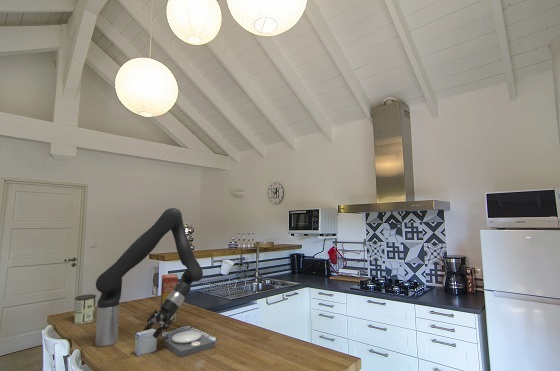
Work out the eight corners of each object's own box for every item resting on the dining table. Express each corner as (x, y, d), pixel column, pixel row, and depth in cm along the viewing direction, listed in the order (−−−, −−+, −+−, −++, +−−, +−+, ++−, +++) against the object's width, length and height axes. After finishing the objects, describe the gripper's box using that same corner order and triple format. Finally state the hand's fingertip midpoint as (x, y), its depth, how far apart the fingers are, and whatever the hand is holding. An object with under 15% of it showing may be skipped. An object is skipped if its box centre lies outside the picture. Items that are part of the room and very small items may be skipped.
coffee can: (82, 318, 188) (83, 294, 190) (98, 318, 187) (99, 294, 189) (69, 323, 178) (70, 298, 179) (86, 324, 177) (87, 298, 178)
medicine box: (152, 348, 141) (153, 328, 142) (156, 351, 138) (157, 330, 139) (134, 353, 136) (135, 332, 137) (138, 356, 133) (139, 335, 134)
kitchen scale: (164, 345, 145) (164, 336, 145) (196, 336, 155) (196, 328, 156) (180, 357, 131) (181, 347, 132) (214, 347, 142) (214, 337, 142)
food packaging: (177, 321, 179) (178, 277, 182) (159, 324, 175) (161, 278, 178) (176, 315, 191) (177, 273, 194) (159, 317, 188) (160, 274, 191)
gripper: (159, 296, 152) (135, 327, 142) (176, 300, 143) (152, 333, 133) (169, 305, 155) (146, 336, 145) (186, 309, 147) (163, 343, 136)
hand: (149, 334), depth 139 cm, fingers open, 8 cm apart
